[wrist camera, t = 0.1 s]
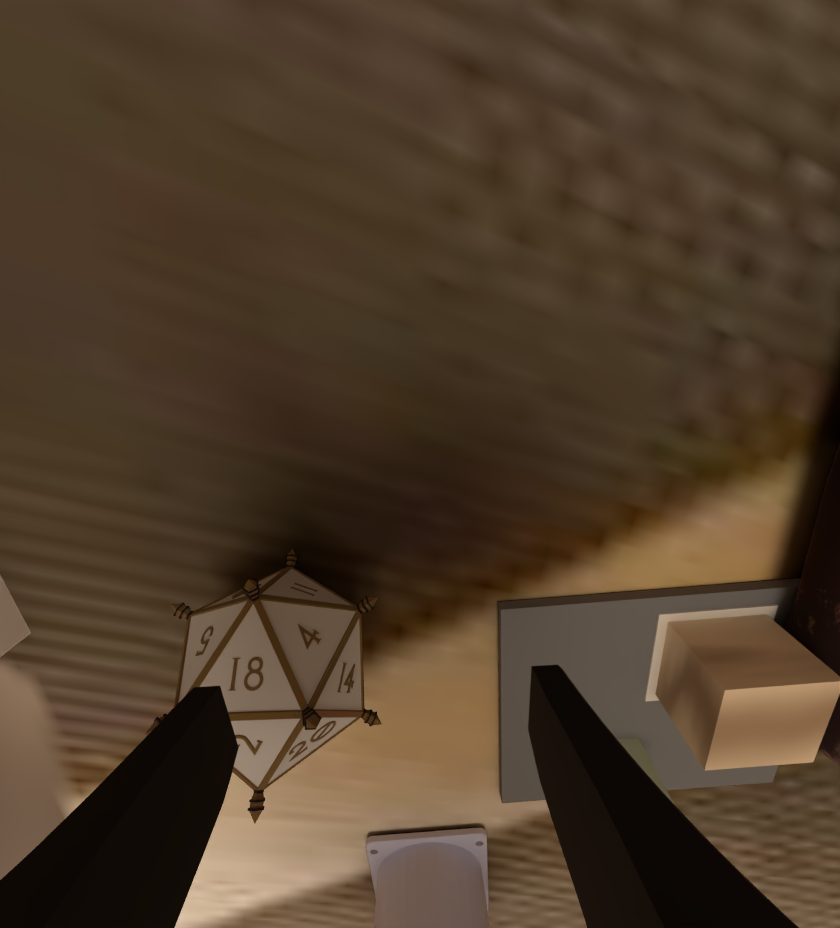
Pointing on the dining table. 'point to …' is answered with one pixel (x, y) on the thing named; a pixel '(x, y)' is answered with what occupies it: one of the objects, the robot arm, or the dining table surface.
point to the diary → (822, 598)
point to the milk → (10, 621)
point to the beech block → (745, 692)
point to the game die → (278, 669)
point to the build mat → (617, 671)
